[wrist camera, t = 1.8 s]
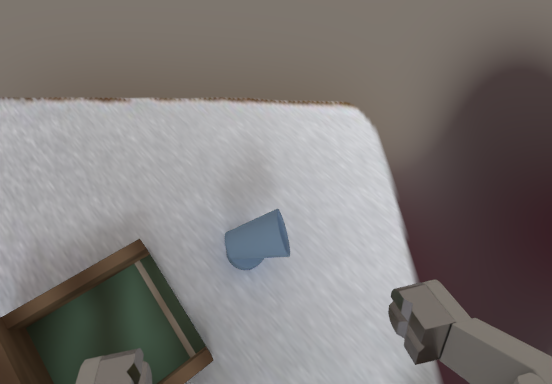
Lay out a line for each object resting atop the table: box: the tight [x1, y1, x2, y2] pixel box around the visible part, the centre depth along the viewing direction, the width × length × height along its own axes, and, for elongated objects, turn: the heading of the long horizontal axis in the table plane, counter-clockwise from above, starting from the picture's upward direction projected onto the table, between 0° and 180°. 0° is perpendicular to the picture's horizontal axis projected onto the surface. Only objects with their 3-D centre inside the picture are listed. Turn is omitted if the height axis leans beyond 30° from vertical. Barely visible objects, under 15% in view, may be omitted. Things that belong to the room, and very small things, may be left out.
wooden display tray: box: [0, 239, 213, 384], centre depth 31 cm, size 14×14×6 cm
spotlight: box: [225, 209, 290, 270], centre depth 35 cm, size 5×10×7 cm
